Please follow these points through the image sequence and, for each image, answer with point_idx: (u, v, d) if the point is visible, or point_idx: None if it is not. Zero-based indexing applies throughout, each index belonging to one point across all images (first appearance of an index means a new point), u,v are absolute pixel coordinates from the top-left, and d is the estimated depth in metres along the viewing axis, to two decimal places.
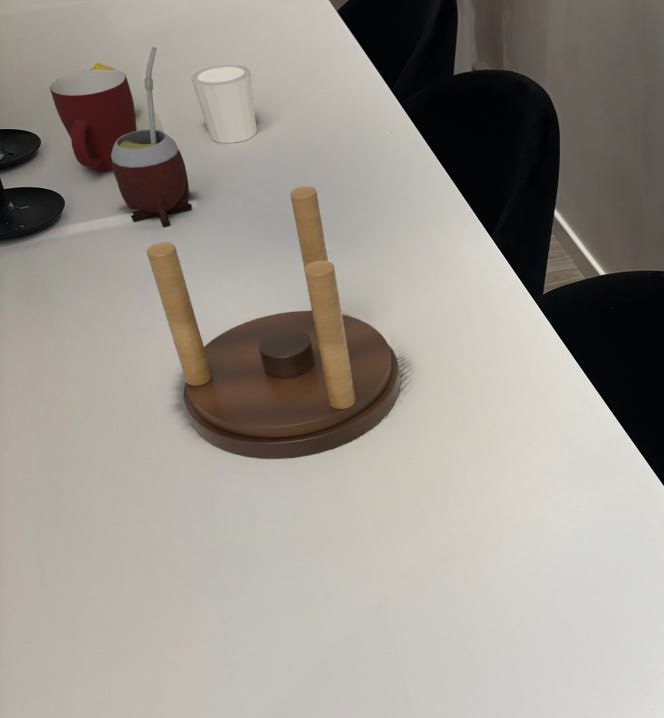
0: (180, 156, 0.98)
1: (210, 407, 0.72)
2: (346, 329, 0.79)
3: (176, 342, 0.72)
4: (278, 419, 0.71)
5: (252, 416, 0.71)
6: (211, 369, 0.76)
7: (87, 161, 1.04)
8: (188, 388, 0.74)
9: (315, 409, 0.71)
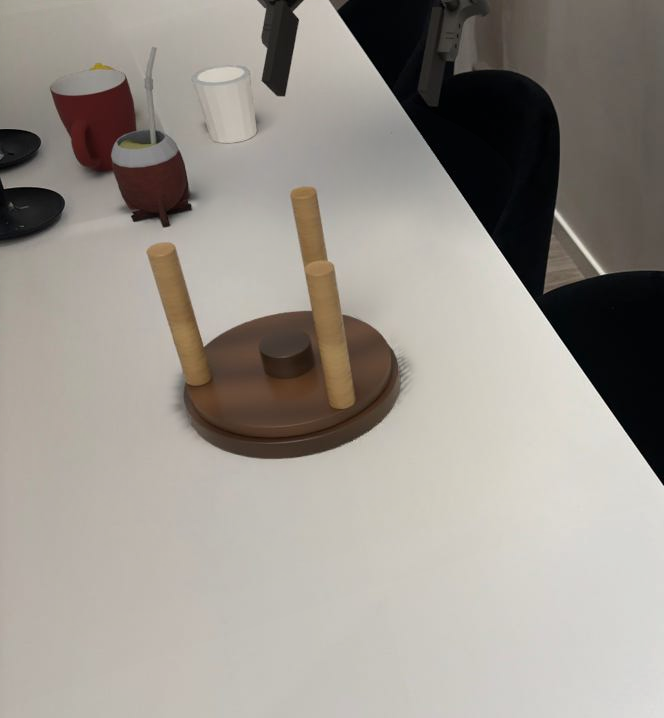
0: (180, 156, 0.98)
1: (210, 407, 0.72)
2: (346, 329, 0.79)
3: (176, 342, 0.72)
4: (278, 419, 0.71)
5: (252, 416, 0.71)
6: (211, 369, 0.76)
7: (87, 161, 1.04)
8: (188, 388, 0.74)
9: (315, 409, 0.71)
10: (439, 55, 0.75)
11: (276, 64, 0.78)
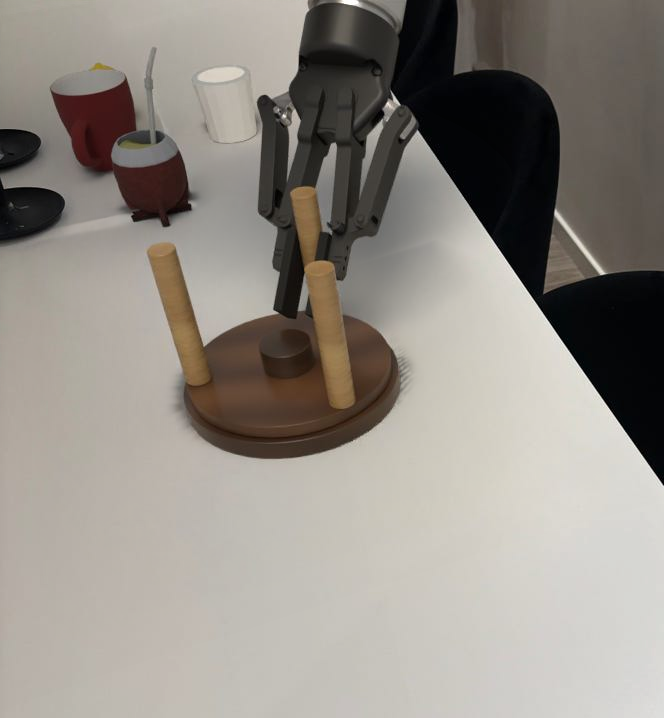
0: (180, 156, 0.98)
1: (210, 407, 0.72)
2: (346, 329, 0.79)
3: (176, 342, 0.72)
4: (278, 419, 0.71)
5: (252, 416, 0.71)
6: (211, 369, 0.76)
7: (87, 161, 1.04)
8: (188, 388, 0.74)
9: (315, 409, 0.71)
10: None
11: (288, 292, 0.76)
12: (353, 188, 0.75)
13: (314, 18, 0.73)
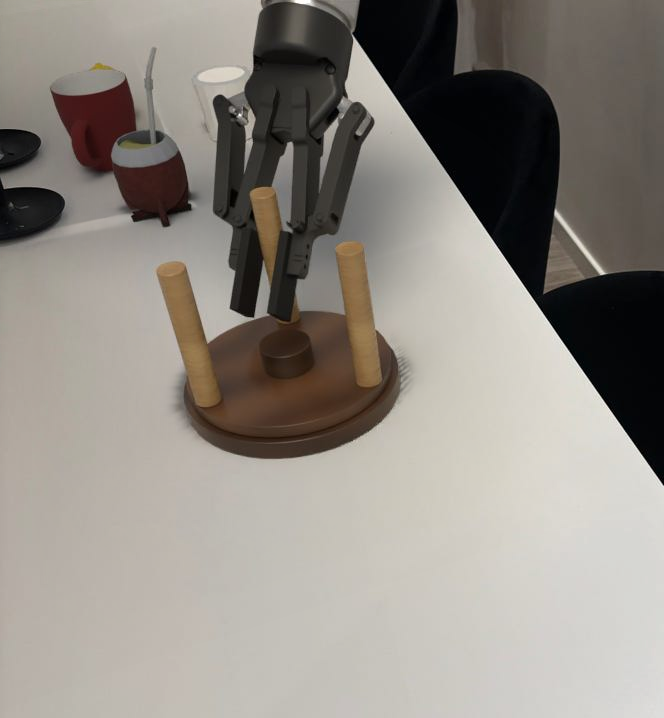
0: (180, 156, 0.98)
1: (244, 420, 0.71)
2: (317, 322, 0.80)
3: (191, 363, 0.69)
4: (321, 411, 0.71)
5: (293, 416, 0.71)
6: None
7: (87, 161, 1.04)
8: (205, 410, 0.72)
9: (350, 393, 0.73)
10: (289, 275, 0.76)
11: (244, 290, 0.76)
12: (311, 186, 0.76)
13: (266, 18, 0.74)
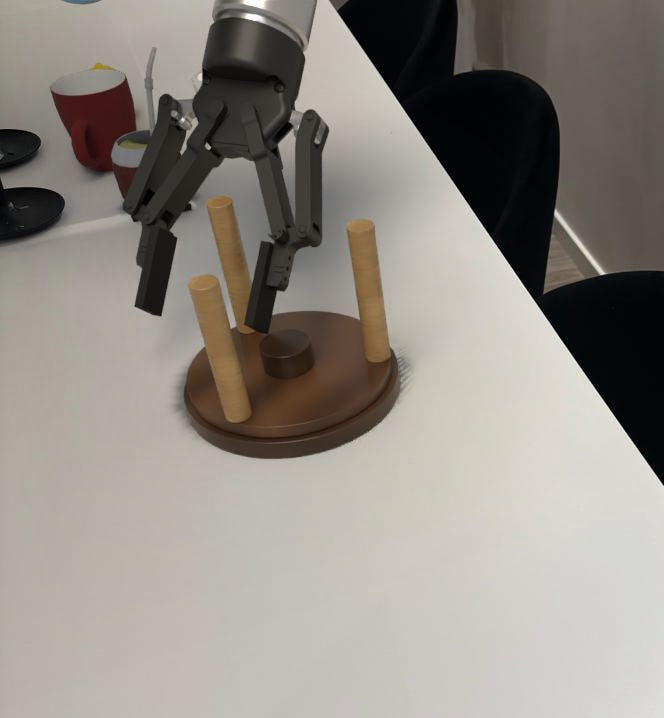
0: (180, 156, 0.98)
1: (291, 420, 0.70)
2: (282, 323, 0.80)
3: (229, 378, 0.68)
4: (359, 392, 0.73)
5: (336, 403, 0.72)
6: None
7: (87, 161, 1.04)
8: (245, 424, 0.70)
9: (371, 370, 0.75)
10: (269, 286, 0.74)
11: (150, 289, 0.76)
12: (282, 197, 0.74)
13: (216, 32, 0.73)
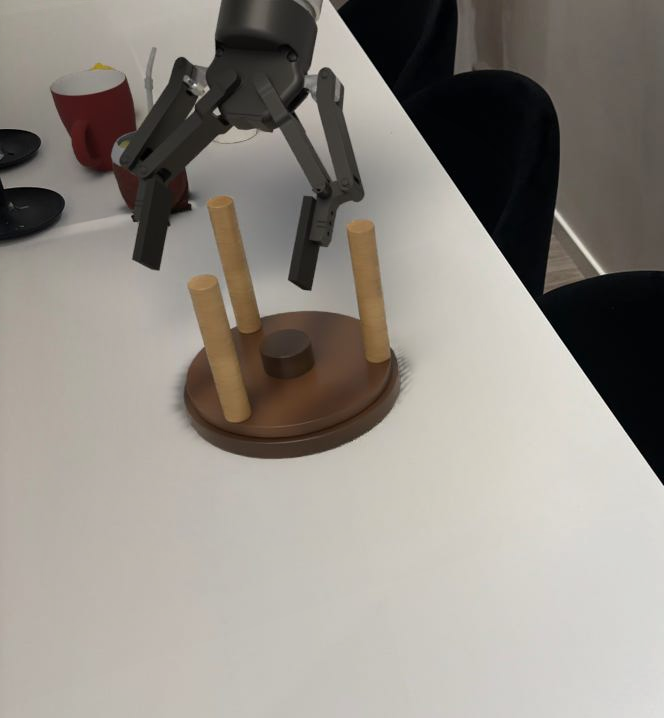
0: None
1: (290, 420, 0.70)
2: (282, 323, 0.80)
3: (228, 378, 0.68)
4: (358, 392, 0.73)
5: (335, 403, 0.72)
6: None
7: (87, 161, 1.04)
8: (244, 424, 0.70)
9: (371, 371, 0.75)
10: (312, 241, 0.74)
11: (148, 242, 0.76)
12: (314, 154, 0.74)
13: (228, 2, 0.73)
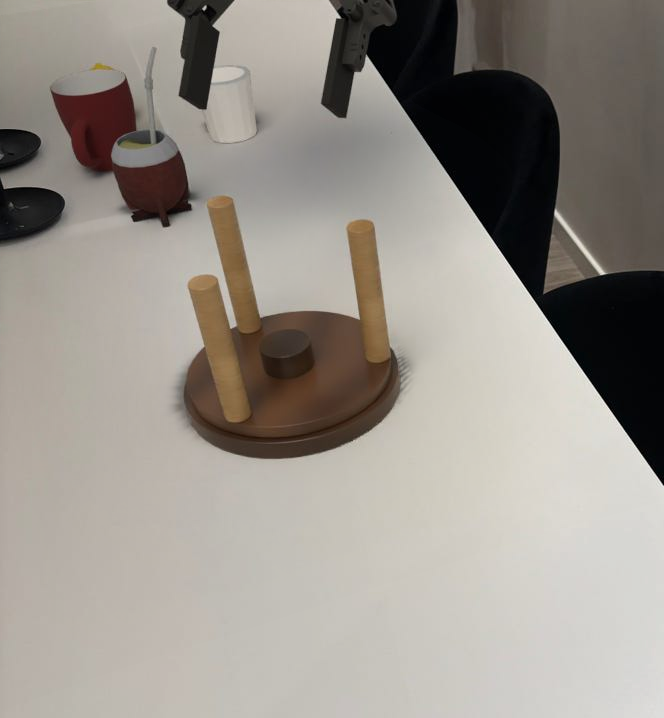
0: (180, 156, 0.98)
1: (290, 420, 0.70)
2: (282, 323, 0.80)
3: (228, 378, 0.68)
4: (358, 392, 0.73)
5: (335, 403, 0.72)
6: None
7: (87, 161, 1.04)
8: (244, 424, 0.70)
9: (371, 371, 0.75)
10: (345, 66, 0.75)
11: (193, 78, 0.79)
12: None
13: None
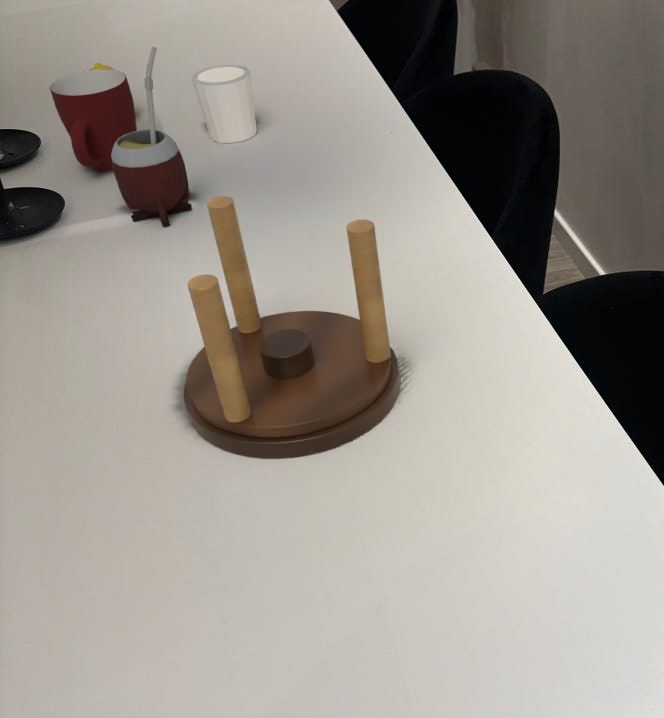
0: (180, 156, 0.98)
1: (290, 420, 0.70)
2: (282, 323, 0.80)
3: (228, 378, 0.68)
4: (358, 392, 0.73)
5: (335, 403, 0.72)
6: None
7: (87, 161, 1.04)
8: (244, 424, 0.70)
9: (371, 371, 0.75)
10: None
11: None
12: None
13: None
